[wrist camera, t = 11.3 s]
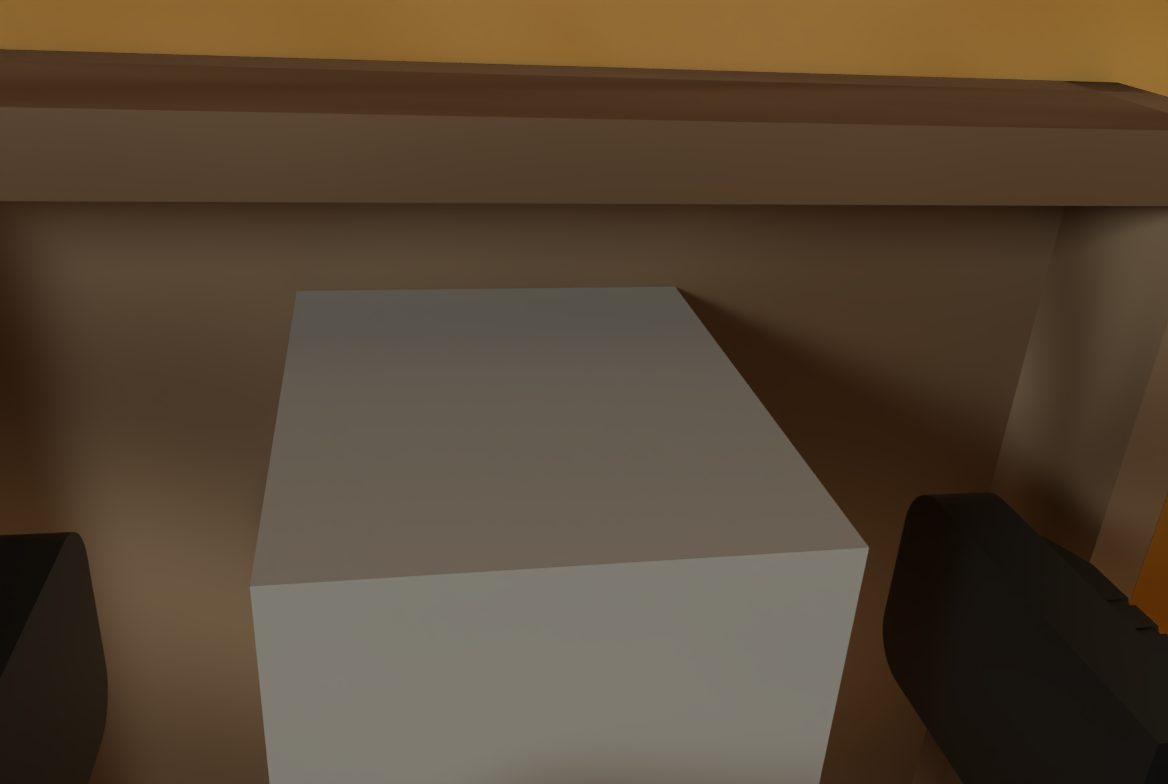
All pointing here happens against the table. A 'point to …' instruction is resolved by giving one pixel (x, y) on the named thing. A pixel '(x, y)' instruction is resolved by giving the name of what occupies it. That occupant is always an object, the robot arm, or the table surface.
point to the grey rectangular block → (540, 550)
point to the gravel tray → (565, 260)
